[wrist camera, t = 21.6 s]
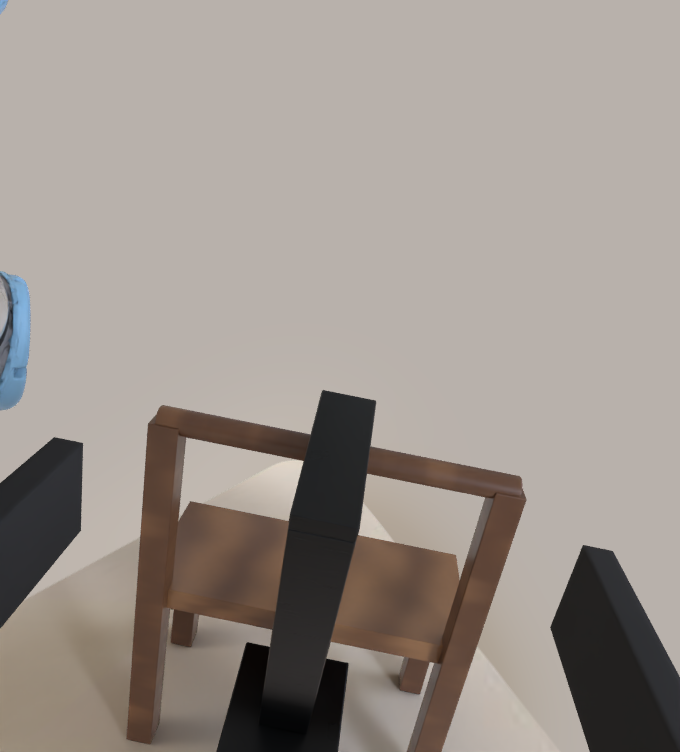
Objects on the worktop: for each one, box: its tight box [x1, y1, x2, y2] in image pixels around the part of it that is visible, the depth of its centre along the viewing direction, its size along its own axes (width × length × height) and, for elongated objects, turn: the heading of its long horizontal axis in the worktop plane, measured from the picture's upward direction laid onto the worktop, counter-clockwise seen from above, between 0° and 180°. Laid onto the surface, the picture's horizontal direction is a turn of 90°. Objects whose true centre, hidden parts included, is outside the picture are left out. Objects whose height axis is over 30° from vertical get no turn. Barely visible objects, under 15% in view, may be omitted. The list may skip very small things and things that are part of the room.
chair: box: [127, 405, 526, 752], centre depth 39 cm, size 20×10×24 cm, turn 85°
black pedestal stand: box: [217, 390, 376, 752], centre depth 34 cm, size 11×7×20 cm, turn 175°
